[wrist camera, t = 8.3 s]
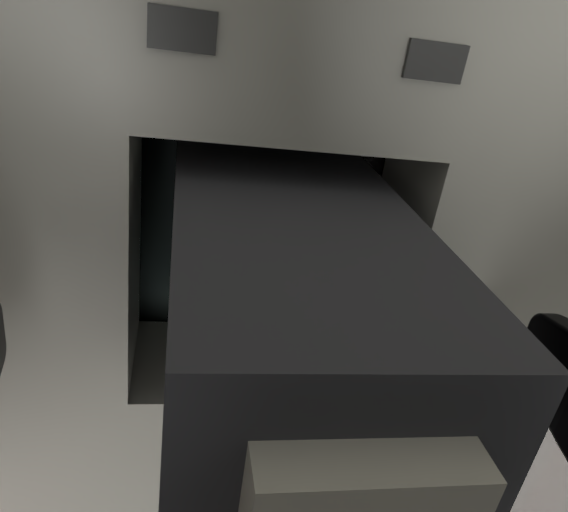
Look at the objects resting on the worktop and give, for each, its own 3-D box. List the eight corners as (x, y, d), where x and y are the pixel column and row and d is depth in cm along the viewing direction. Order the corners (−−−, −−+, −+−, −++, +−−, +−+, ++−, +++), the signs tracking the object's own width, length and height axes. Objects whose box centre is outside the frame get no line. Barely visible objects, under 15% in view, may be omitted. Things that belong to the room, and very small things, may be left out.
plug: (325, 298, 14) (484, 665, 7) (169, 293, 13) (148, 704, 6) (354, 149, 12) (613, 418, 5) (177, 132, 12) (162, 425, 4)
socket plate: (459, 414, 17) (512, 498, 14) (-31, 422, 14) (-82, 528, 11) (611, -10, 12) (740, -5, 9) (-122, -131, 9) (-258, -178, 6)
